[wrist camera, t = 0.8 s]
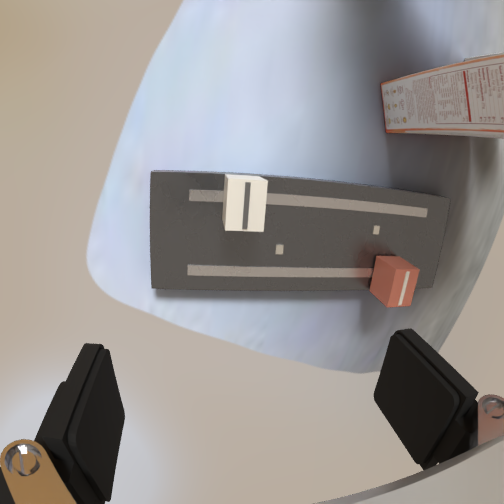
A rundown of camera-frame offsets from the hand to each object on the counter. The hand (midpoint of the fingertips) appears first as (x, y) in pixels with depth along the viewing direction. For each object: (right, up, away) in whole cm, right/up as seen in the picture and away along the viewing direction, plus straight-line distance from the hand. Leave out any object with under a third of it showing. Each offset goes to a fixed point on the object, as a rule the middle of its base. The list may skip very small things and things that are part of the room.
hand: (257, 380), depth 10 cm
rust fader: (+14, +2, +23) cm, 27 cm away
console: (+6, +6, +23) cm, 25 cm away
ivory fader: (-1, +9, +19) cm, 21 cm away
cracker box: (+20, +20, +21) cm, 35 cm away
